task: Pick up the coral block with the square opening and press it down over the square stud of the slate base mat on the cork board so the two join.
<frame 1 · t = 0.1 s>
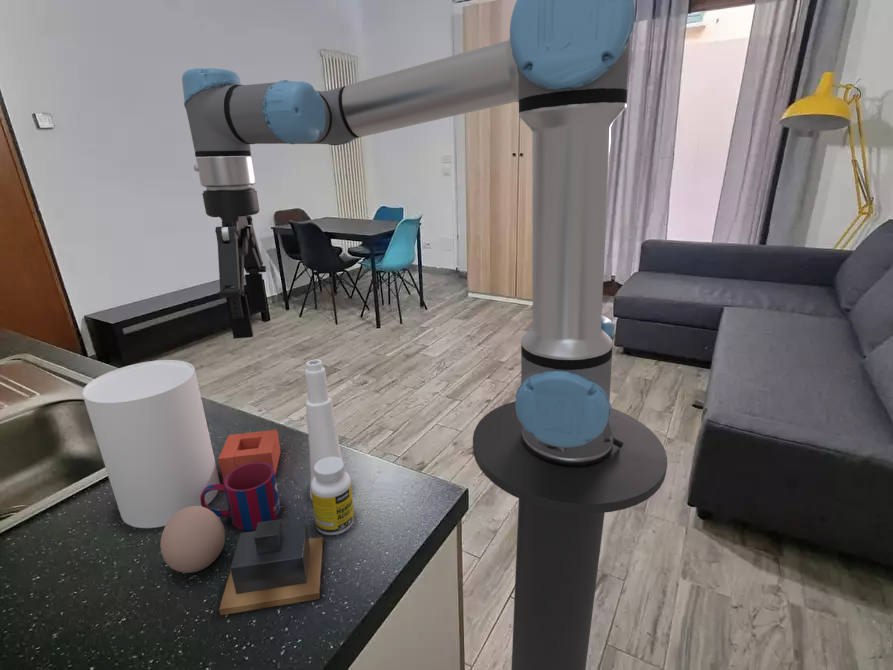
hand: (252, 322, 80), 23 cm above the counter, tool pointing down, fingers open, 13 cm apart
canister: (172, 497, 75), on the counter
coral block: (253, 466, 82), on the counter
cosmetic bottle: (330, 493, 75), on the counter
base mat: (276, 576, 60), on the counter
egg: (200, 565, 62), on the counter
cup: (245, 517, 70), on the counter
supplement bottle: (335, 523, 69), on the counter
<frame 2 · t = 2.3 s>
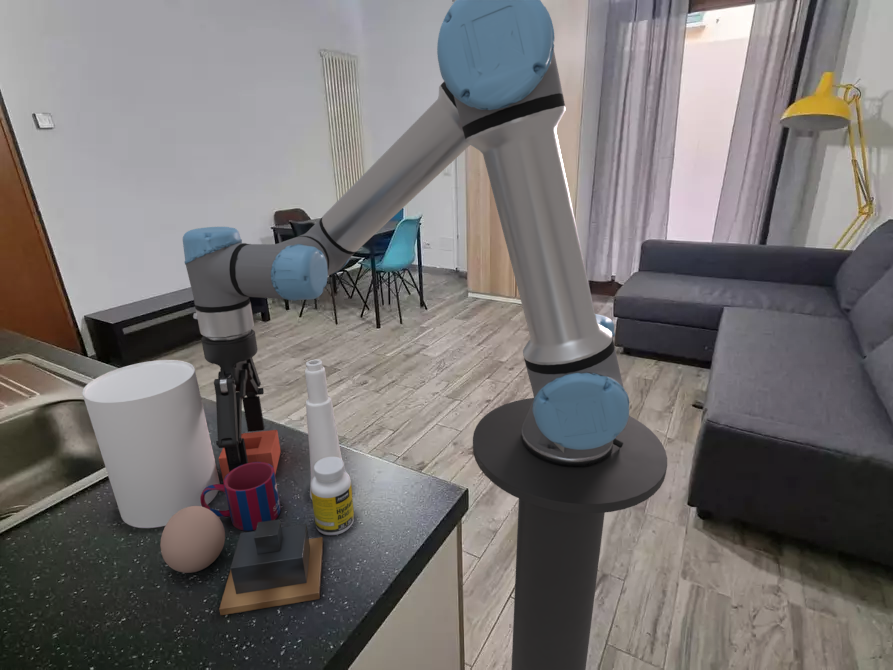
hand: (249, 451, 81), 3 cm above the counter, tool pointing down, fingers open, 13 cm apart
nothing on the counter moved.
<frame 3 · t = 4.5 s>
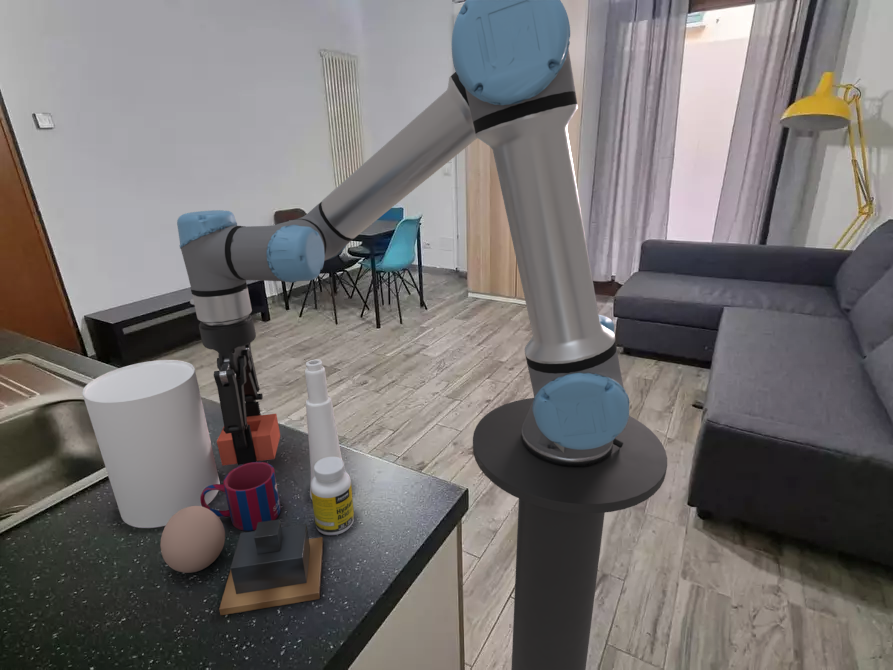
hand: (251, 448, 80), 3 cm above the counter, tool pointing down, fingers closed on coral block, 7 cm apart
coral block: (252, 450, 80), point 3 cm above the counter, touching gripper
everything else where it was.
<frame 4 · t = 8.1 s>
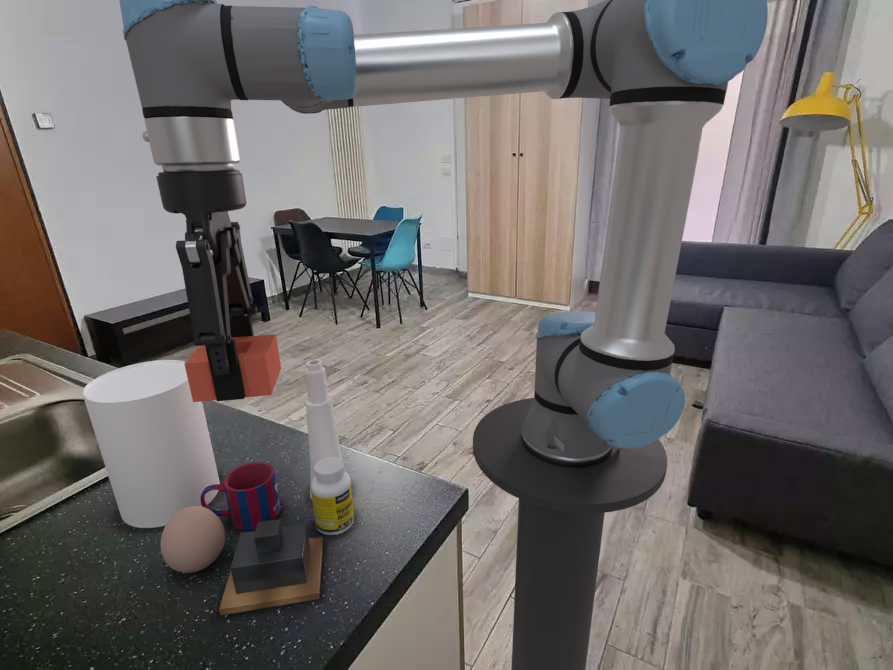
hand: (239, 382, 55), 25 cm above the counter, tool pointing down, fingers closed on coral block, 7 cm apart
coral block: (240, 384, 55), point 25 cm above the counter, touching gripper
everything else where it was.
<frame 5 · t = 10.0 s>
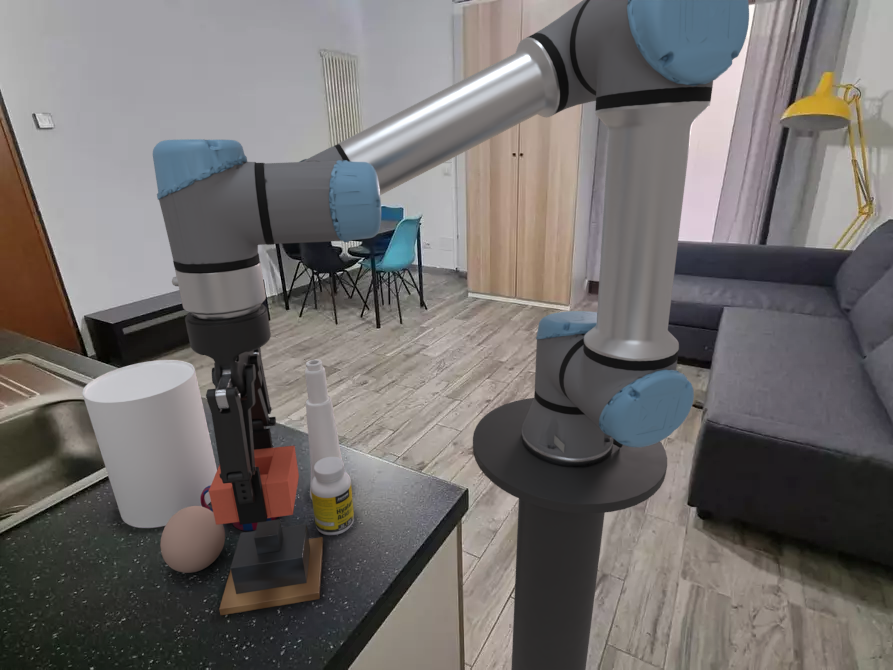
hand: (259, 497, 56), 12 cm above the counter, tool pointing down, fingers closed on coral block, 7 cm apart
coral block: (260, 499, 56), point 12 cm above the counter, touching gripper
everything else where it was.
when the fingers open (4 cm above the counter, at t = 11.7 s): coral block stays where it is, resting on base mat.
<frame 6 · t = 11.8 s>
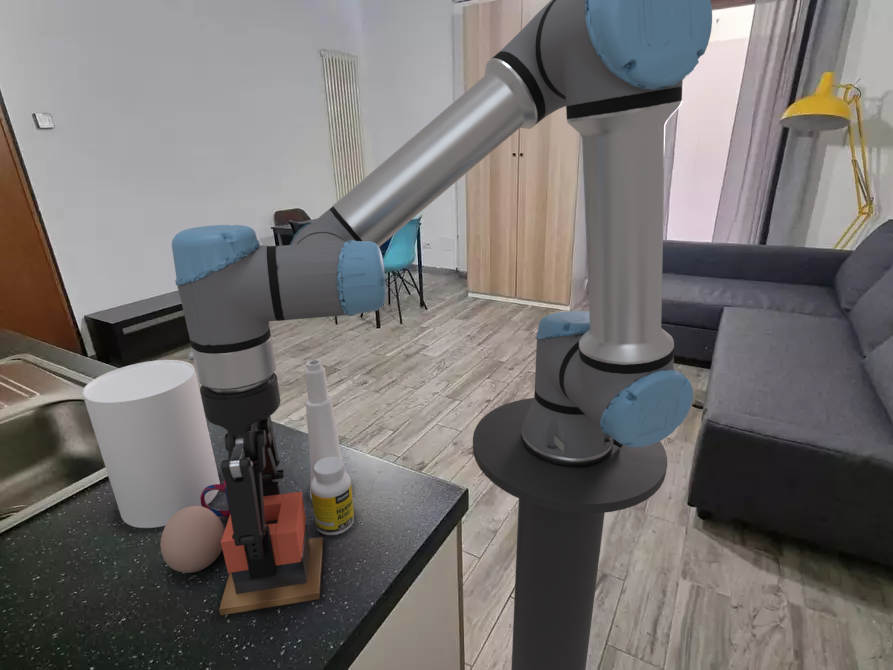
hand: (268, 549, 59), 4 cm above the counter, tool pointing down, fingers open, 7 cm apart
coral block: (269, 544, 58), point 5 cm above the counter, touching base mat
everything else where it was.
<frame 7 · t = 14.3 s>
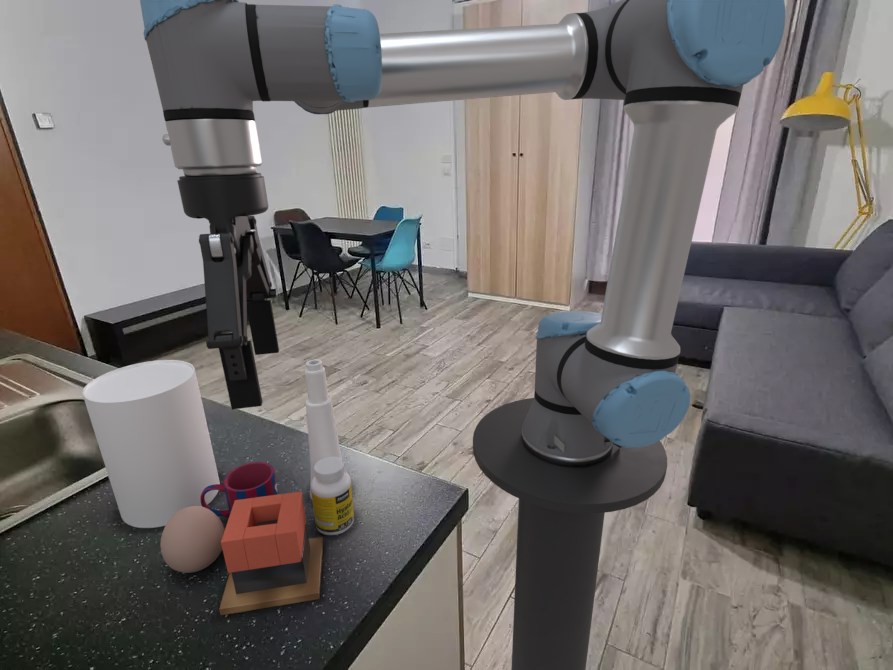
hand: (258, 376, 53), 26 cm above the counter, tool pointing down, fingers open, 13 cm apart
nothing on the counter moved.
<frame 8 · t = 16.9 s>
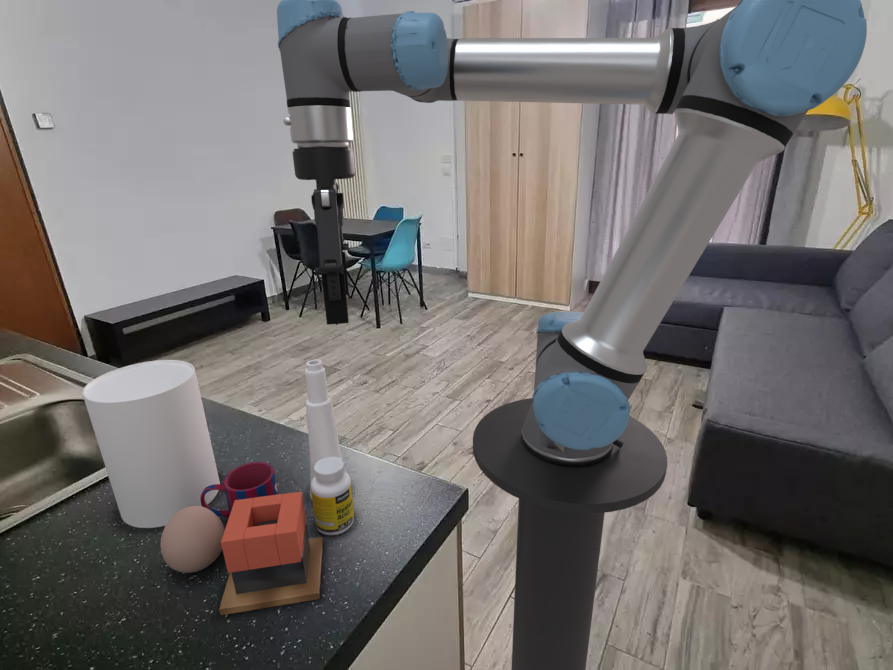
hand: (339, 307, 68), 29 cm above the counter, tool pointing down, fingers open, 13 cm apart
nothing on the counter moved.
at the end: coral block 0.1 cm off-centre on the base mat, point 5.0 cm above the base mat's base; coral block tilted 0°; the gripper is holding nothing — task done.
